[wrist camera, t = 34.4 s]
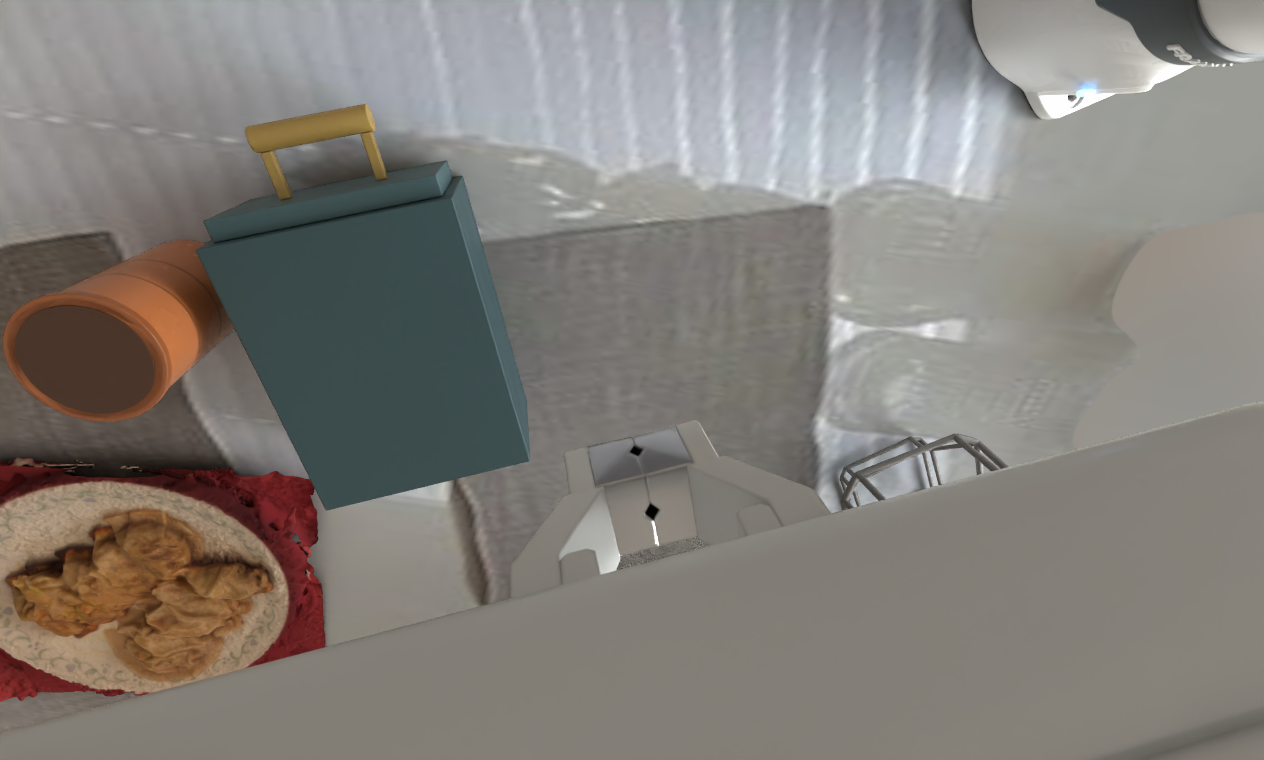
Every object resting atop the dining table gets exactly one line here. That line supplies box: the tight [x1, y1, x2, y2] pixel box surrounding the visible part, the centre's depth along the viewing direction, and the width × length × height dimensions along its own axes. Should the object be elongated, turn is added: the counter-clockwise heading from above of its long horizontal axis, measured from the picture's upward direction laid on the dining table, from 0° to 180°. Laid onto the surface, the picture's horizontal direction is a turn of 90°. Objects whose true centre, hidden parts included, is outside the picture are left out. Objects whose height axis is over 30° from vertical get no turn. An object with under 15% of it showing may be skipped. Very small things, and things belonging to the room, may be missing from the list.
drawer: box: [203, 104, 452, 243], centre depth 39 cm, size 20×12×7 cm, turn 10°
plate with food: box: [0, 458, 325, 701], centre depth 49 cm, size 24×26×3 cm
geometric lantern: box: [840, 434, 1008, 511], centre depth 44 cm, size 16×16×35 cm
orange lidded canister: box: [3, 240, 235, 422], centre depth 36 cm, size 7×7×12 cm
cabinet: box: [196, 176, 530, 510], centre depth 41 cm, size 18×14×9 cm
